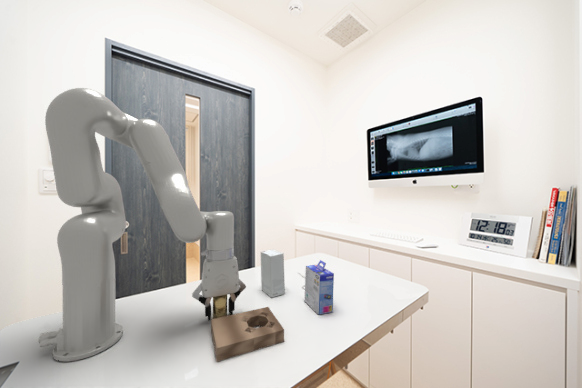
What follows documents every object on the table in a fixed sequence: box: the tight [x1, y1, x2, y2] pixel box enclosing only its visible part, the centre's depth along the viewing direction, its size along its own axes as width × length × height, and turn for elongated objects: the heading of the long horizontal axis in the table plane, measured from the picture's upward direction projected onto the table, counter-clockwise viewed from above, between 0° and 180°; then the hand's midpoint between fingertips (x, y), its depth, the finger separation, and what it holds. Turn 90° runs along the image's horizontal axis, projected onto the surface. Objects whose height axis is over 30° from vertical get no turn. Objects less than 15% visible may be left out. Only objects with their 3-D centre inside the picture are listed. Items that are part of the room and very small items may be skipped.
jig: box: [210, 306, 285, 362], centre depth 58 cm, size 16×12×3 cm
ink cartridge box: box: [304, 259, 335, 316], centre depth 73 cm, size 10×6×14 cm, turn 24°
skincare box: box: [260, 248, 286, 298], centre depth 83 cm, size 8×6×15 cm
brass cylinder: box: [212, 295, 228, 319], centre depth 65 cm, size 4×4×7 cm
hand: (220, 315), depth 65 cm, fingers open, 5 cm apart
